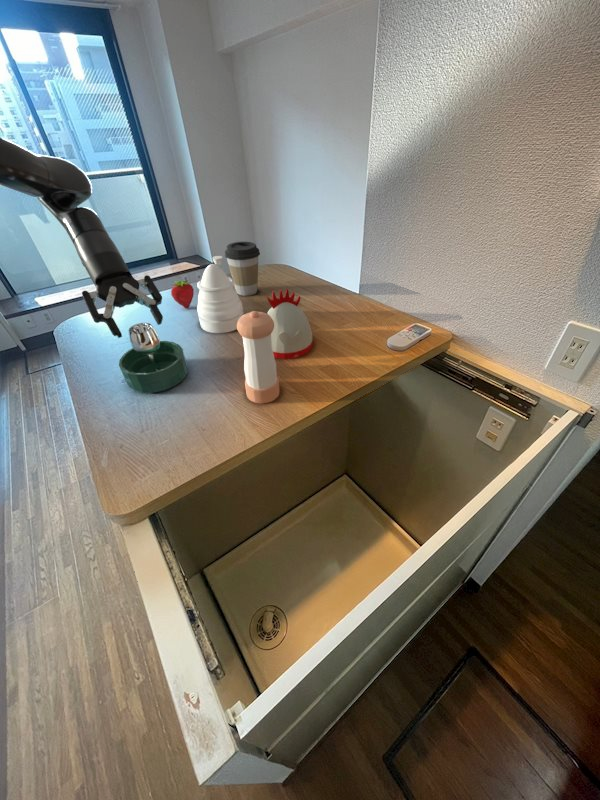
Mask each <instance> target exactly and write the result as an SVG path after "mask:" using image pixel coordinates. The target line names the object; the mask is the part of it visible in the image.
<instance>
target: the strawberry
mask: <svg viewBox="0 0 600 800" xmlns="http://www.w3.org/2000/svg"><path fill="white" fill-rule="evenodd" d="M177 278H179V276H178V275H177ZM174 282H175V283H174V284H172V285H171V286H172V288H171V289H170V293H171V294H170V295H171V297H172V299H173V300H174V301H175V302H176V303H178V304H179V306H181V307H182V308H184V309H189V308H190V305H191V304H192V301H193V298H194V295H195V294H194V293H195V290H194V288H193V285H192V284H191V283H189V282H188V280H183V281H182V279H180V280H179V281H178V280H175V281H174Z"/></svg>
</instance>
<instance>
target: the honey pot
mask: <svg viewBox="0 0 600 800" xmlns="http://www.w3.org/2000/svg"><path fill="white" fill-rule="evenodd" d="M212 261H213V263H210V264H209V265H207V267H205V269H204V271H203V274H202V277H201V279H199V281H198V282H197V284H196V286H197V288H198V295H197V305H196V310H197V316H198V320H199V324H200V327H201V329H202V330H203V331H205V332H207V333H211V334H226V333H231V332H234V331H236V330H237V322H238V320H239V318H240V317H241V316H242V315H244V314H245V312H244V307H243V302H242V301H241V299H240V295H239V294H237V291H236V290H235V286H234V280H233V279H232V277H230V276H228V275H227V274H226V273H225V271H224V270H223V269H222V268H221V267H220V266H221V265H222V263H223V256H222V255H215V256H212Z"/></svg>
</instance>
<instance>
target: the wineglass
mask: <svg viewBox="0 0 600 800" xmlns="http://www.w3.org/2000/svg"><path fill="white" fill-rule="evenodd" d="M128 337H129V342H130V344H131V347H132V348H133V349H134V351H135V352H136V353H138V354H139V355H142V356H149V359H150V360H151V362H152V363H153V366H154V370H152V371H150V372H155V371H159V370H161V369H164V368H156V365H155V362H154V356H153V354H155V353H156V352H158V350H159V349H160V341H161V339H160V336H159V335H158V332H157V331H156V329H155V328H154V326H153V325H152V324H151V323H149V322H139V323H135V324H134V325H131V326H130V327H129V328H128ZM150 372H149V373H150Z"/></svg>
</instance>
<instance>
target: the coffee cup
mask: <svg viewBox="0 0 600 800" xmlns="http://www.w3.org/2000/svg"><path fill="white" fill-rule="evenodd" d="M260 255H261V252H260V249H259V248H258V247H257V244H256V243H255V242H252V241H234V242H231V243H229V244H228V245H226V249H225V250H224V257H225V258H226V260H227V264H228V267H229V270H230V275H231V278H232V279H233V280H234V285H233V287H234V289H235V290H236V292H237V295H238V296H243V297H249V296H252V295H256V293H258V285H259V284H258V283H259V256H260Z"/></svg>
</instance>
